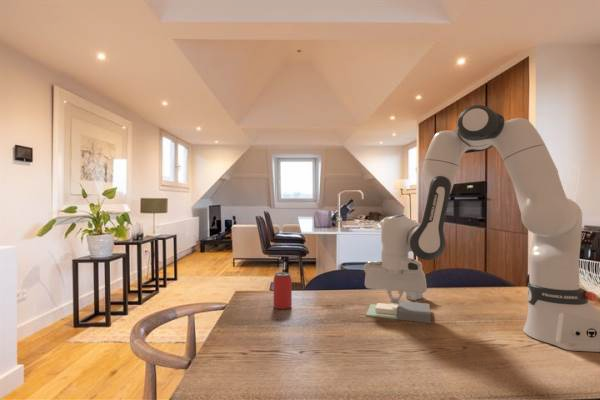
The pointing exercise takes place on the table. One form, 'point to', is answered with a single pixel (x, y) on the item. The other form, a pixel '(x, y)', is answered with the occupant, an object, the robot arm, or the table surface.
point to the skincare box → (414, 295)
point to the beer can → (282, 290)
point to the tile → (386, 308)
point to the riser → (414, 312)
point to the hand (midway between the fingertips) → (395, 303)
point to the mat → (372, 313)
